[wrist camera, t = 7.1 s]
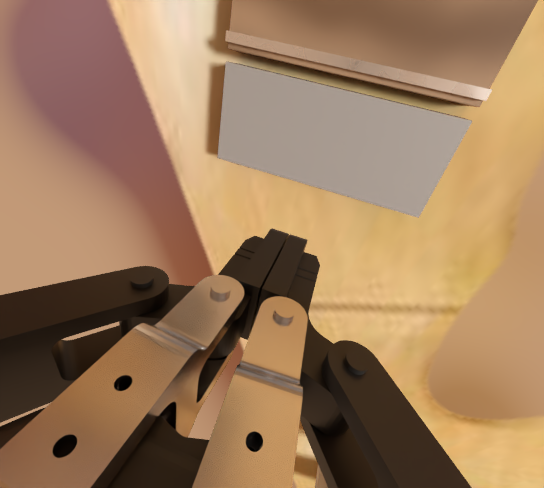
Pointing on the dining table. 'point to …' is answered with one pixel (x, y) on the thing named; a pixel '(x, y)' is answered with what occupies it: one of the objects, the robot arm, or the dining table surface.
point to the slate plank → (336, 138)
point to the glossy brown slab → (387, 40)
